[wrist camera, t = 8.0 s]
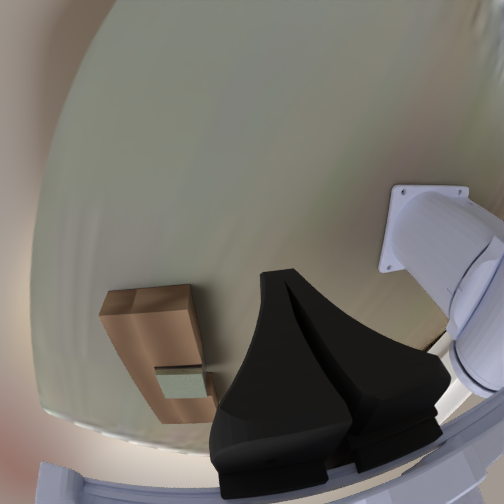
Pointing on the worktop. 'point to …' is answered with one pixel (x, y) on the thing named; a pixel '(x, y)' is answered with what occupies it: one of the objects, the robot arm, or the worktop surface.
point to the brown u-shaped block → (159, 346)
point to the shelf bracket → (456, 389)
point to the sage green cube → (183, 380)
